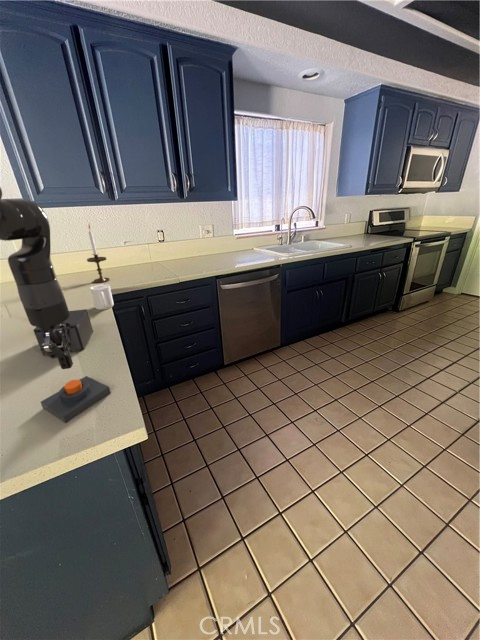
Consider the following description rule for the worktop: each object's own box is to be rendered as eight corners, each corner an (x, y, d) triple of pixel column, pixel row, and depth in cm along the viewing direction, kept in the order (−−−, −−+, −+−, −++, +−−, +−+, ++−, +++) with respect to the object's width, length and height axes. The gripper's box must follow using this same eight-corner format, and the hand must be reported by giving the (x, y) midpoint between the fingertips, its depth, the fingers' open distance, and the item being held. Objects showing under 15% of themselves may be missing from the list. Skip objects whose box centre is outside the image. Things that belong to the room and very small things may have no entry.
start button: (71, 396, 65) (69, 390, 64) (63, 391, 66) (61, 386, 66) (85, 387, 68) (83, 382, 67) (77, 383, 69) (75, 378, 69)
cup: (113, 302, 134) (108, 283, 130) (115, 310, 125) (111, 289, 120) (95, 305, 130) (90, 285, 126) (96, 313, 121) (91, 292, 117)
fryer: (84, 349, 92) (76, 325, 88) (42, 355, 89) (33, 330, 85) (93, 331, 105) (87, 309, 101) (57, 335, 102) (49, 312, 98)
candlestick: (103, 277, 177) (90, 222, 162) (114, 279, 172) (102, 222, 158) (88, 282, 168) (73, 224, 153) (100, 284, 164) (85, 224, 149)
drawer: (77, 356, 87) (70, 335, 83) (37, 361, 84) (28, 340, 81) (89, 332, 102) (84, 313, 99) (56, 336, 100) (50, 317, 96)
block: (65, 423, 62) (60, 410, 60) (43, 408, 66) (37, 396, 64) (110, 393, 71) (107, 381, 69) (88, 382, 76) (84, 370, 74)
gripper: (36, 293, 62) (59, 355, 69) (8, 314, 50) (39, 386, 58) (72, 289, 64) (90, 351, 71) (53, 309, 52) (77, 380, 59)
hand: (67, 367), depth 64 cm, fingers closed
